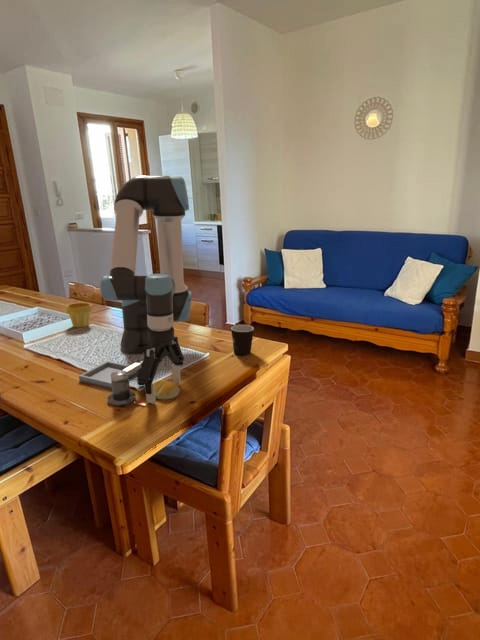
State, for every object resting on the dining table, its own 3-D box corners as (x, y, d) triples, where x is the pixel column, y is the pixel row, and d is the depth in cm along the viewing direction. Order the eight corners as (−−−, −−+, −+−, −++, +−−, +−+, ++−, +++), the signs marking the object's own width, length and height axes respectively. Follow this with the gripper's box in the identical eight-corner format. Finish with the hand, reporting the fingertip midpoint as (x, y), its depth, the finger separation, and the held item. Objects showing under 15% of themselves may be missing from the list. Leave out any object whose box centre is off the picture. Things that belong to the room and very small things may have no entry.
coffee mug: (251, 357, 155) (251, 332, 152) (228, 356, 156) (228, 331, 153) (256, 347, 166) (256, 323, 163) (235, 345, 167) (235, 321, 164)
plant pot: (84, 320, 198) (81, 301, 195) (97, 324, 192) (95, 304, 189) (64, 326, 190) (61, 305, 187) (77, 330, 184) (75, 309, 181)
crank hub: (102, 403, 121) (99, 382, 119) (120, 391, 128) (118, 371, 126) (136, 412, 116) (135, 390, 114) (153, 399, 123) (152, 379, 121)
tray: (79, 381, 135) (78, 375, 134) (108, 366, 147) (107, 360, 146) (112, 389, 130) (111, 383, 129) (139, 372, 141) (138, 367, 141)
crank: (122, 402, 120) (120, 378, 117) (109, 398, 122) (107, 375, 119) (151, 382, 132) (150, 361, 130) (138, 379, 134) (137, 358, 132)
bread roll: (162, 385, 133) (161, 374, 132) (183, 392, 128) (183, 380, 127) (143, 395, 126) (142, 383, 125) (165, 403, 122) (165, 391, 120)
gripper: (145, 342, 109) (150, 414, 115) (193, 317, 130) (195, 379, 137) (122, 338, 112) (128, 408, 118) (173, 315, 133) (176, 375, 140)
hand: (164, 393), depth 127 cm, fingers open, 13 cm apart
